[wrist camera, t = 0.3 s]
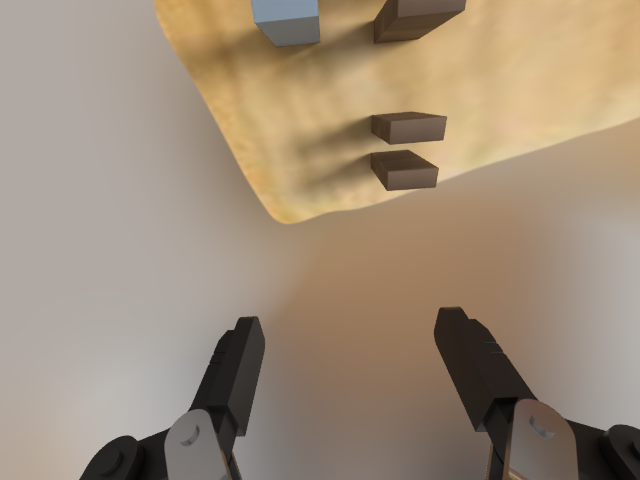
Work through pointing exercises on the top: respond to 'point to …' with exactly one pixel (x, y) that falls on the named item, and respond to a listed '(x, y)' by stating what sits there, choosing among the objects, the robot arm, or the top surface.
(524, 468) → the robot arm
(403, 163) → the domino
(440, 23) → the domino
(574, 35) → the top surface
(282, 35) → the domino
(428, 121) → the domino
